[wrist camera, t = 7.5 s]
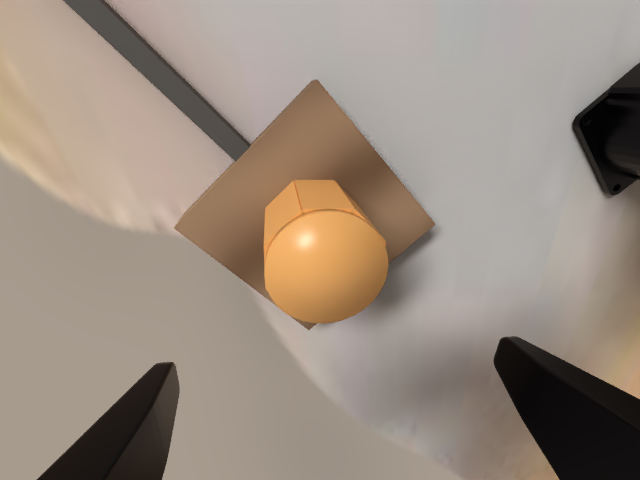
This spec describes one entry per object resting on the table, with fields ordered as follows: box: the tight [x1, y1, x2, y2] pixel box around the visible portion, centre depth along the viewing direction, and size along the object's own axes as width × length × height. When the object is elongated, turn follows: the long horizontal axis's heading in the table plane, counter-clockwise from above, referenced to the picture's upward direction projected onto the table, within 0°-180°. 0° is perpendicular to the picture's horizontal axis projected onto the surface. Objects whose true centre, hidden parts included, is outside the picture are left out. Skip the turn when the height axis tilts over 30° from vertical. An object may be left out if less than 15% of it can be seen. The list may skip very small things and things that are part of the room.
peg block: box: [174, 80, 435, 330], centre depth 16 cm, size 10×10×6 cm
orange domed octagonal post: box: [264, 180, 388, 323], centre depth 15 cm, size 5×5×5 cm
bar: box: [64, 0, 250, 161], centre depth 14 cm, size 16×1×1 cm, turn 43°
